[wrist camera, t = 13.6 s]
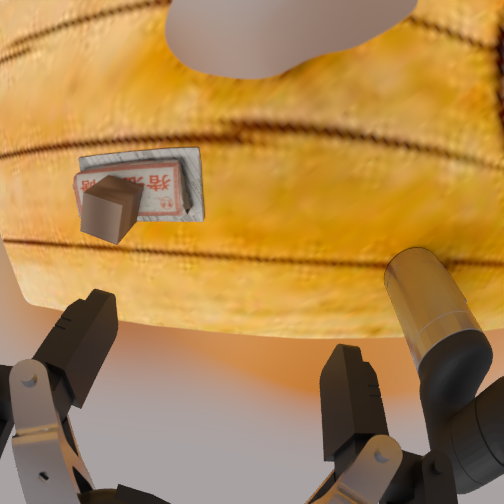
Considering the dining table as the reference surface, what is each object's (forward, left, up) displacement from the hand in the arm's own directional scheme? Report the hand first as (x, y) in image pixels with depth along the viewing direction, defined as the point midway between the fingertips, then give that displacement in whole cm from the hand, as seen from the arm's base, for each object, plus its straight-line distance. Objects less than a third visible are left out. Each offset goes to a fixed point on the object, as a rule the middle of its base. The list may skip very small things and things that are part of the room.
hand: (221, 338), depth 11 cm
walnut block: (+16, +8, -26) cm, 31 cm away
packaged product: (+15, +8, -31) cm, 35 cm away
